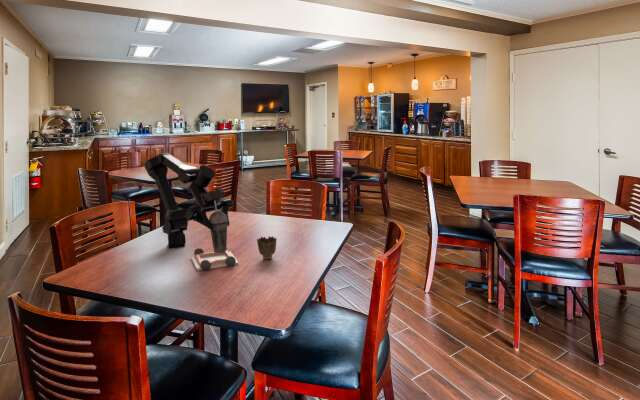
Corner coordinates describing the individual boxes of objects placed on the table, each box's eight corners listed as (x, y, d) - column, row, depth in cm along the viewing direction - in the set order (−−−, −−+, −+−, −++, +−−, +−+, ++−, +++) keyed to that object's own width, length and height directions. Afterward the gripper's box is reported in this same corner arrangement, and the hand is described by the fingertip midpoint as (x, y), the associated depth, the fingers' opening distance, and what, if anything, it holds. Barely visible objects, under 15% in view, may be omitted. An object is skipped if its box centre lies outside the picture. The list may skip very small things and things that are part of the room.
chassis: (197, 271, 148) (196, 262, 147) (191, 258, 163) (190, 249, 162) (239, 265, 154) (238, 255, 153) (229, 252, 169) (229, 243, 168)
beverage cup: (233, 249, 160) (231, 198, 156) (220, 255, 154) (217, 202, 150) (219, 247, 164) (216, 197, 160) (206, 252, 158) (202, 200, 154)
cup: (277, 255, 164) (277, 235, 163) (276, 261, 157) (275, 241, 155) (258, 255, 164) (257, 236, 162) (256, 262, 157) (255, 241, 155)
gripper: (187, 185, 149) (207, 219, 144) (229, 178, 163) (249, 210, 158) (177, 203, 156) (196, 237, 151) (218, 195, 170) (236, 226, 165)
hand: (220, 227), depth 156 cm, fingers closed on beverage cup, 7 cm apart
